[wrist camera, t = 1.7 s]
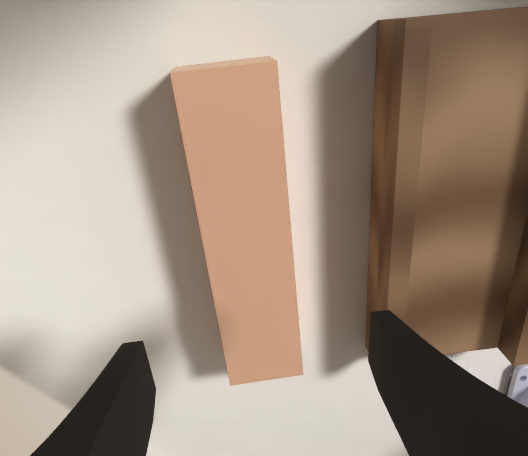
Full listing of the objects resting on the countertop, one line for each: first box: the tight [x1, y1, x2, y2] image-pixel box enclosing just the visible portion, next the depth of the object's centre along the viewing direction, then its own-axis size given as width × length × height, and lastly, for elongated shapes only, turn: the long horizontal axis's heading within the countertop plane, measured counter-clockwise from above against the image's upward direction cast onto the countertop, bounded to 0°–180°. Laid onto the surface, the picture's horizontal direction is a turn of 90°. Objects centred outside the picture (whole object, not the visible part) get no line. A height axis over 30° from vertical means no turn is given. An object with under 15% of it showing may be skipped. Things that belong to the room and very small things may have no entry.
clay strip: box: [170, 56, 303, 386], centre depth 20 cm, size 16×4×3 cm, turn 6°
